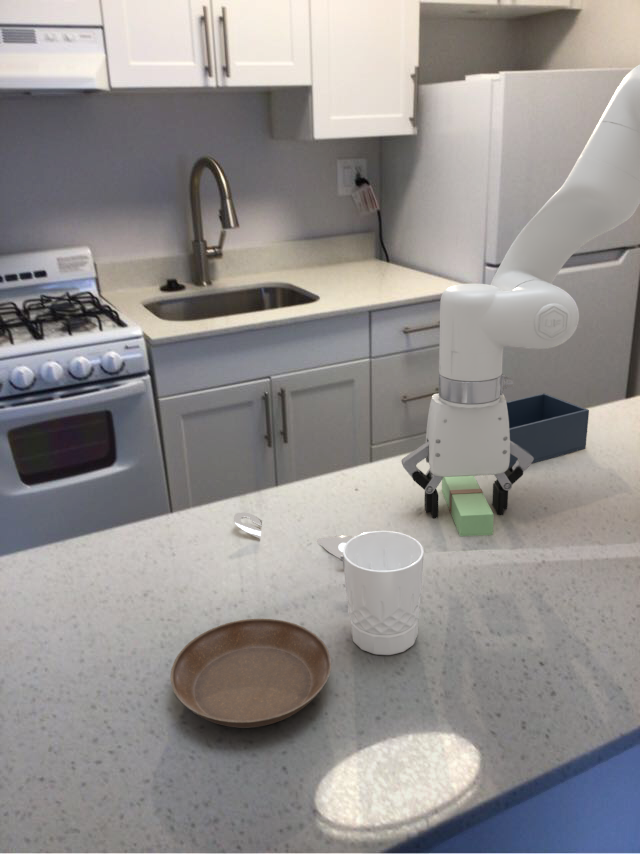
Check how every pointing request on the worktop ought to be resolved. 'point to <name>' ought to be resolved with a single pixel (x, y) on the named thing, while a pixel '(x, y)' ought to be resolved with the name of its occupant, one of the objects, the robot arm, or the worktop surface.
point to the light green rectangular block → (468, 506)
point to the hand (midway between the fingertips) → (465, 514)
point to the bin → (546, 426)
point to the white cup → (383, 590)
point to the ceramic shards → (329, 543)
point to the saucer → (251, 672)
